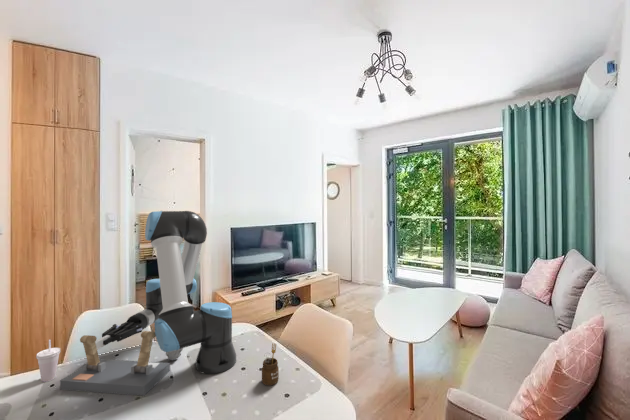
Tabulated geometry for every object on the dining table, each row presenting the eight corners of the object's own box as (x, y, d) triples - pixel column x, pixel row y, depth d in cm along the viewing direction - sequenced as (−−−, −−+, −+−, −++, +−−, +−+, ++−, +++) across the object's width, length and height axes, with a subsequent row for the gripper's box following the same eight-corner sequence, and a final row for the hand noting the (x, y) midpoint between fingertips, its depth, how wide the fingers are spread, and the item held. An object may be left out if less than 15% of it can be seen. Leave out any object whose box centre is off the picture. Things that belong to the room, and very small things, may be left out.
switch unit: (169, 370, 107) (169, 356, 107) (144, 395, 93) (144, 378, 93) (96, 366, 110) (96, 352, 110) (60, 389, 96) (60, 373, 96)
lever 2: (150, 372, 101) (158, 331, 105) (146, 373, 99) (154, 331, 103) (136, 371, 102) (144, 330, 106) (131, 372, 100) (140, 331, 104)
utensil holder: (258, 384, 99) (258, 350, 99) (267, 374, 105) (267, 342, 105) (273, 387, 98) (274, 352, 97) (281, 377, 104) (281, 344, 103)
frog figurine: (179, 363, 112) (179, 346, 112) (161, 363, 113) (161, 345, 113) (186, 355, 118) (186, 338, 118) (170, 355, 119) (170, 338, 119)
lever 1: (105, 366, 104) (97, 334, 100) (99, 371, 101) (91, 339, 98) (91, 365, 104) (83, 333, 101) (85, 370, 102) (77, 338, 99)
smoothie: (45, 385, 98) (45, 344, 98) (31, 383, 100) (30, 343, 99) (65, 374, 105) (65, 336, 104) (51, 372, 106) (51, 334, 106)
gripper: (154, 330, 125) (110, 358, 102) (126, 328, 126) (76, 356, 103) (154, 313, 125) (110, 337, 102) (126, 312, 126) (76, 335, 103)
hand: (93, 347), depth 102 cm, fingers closed
